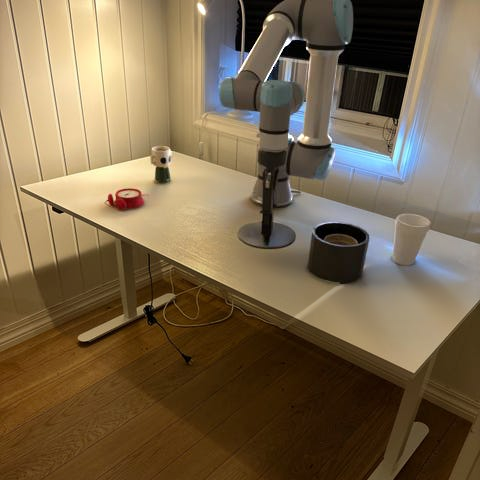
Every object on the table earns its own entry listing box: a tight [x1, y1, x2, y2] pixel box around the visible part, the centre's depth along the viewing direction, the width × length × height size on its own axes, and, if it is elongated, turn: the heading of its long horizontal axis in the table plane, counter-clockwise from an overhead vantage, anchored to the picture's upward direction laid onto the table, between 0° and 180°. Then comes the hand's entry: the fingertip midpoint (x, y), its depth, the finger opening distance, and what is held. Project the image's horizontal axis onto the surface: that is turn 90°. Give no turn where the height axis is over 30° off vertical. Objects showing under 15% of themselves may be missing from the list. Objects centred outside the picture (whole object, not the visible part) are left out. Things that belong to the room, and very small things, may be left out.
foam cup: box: [392, 213, 431, 266], centre depth 143 cm, size 10×9×13 cm
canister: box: [306, 221, 370, 285], centre depth 137 cm, size 16×16×12 cm
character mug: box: [149, 145, 173, 184], centre depth 191 cm, size 11×7×13 cm, turn 139°
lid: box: [236, 207, 297, 250], centre depth 136 cm, size 17×17×9 cm
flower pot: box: [324, 234, 358, 245], centre depth 137 cm, size 9×9×9 cm
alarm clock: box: [104, 187, 149, 211], centre depth 172 cm, size 10×6×15 cm
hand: (266, 231), depth 138 cm, fingers closed on lid, 3 cm apart
